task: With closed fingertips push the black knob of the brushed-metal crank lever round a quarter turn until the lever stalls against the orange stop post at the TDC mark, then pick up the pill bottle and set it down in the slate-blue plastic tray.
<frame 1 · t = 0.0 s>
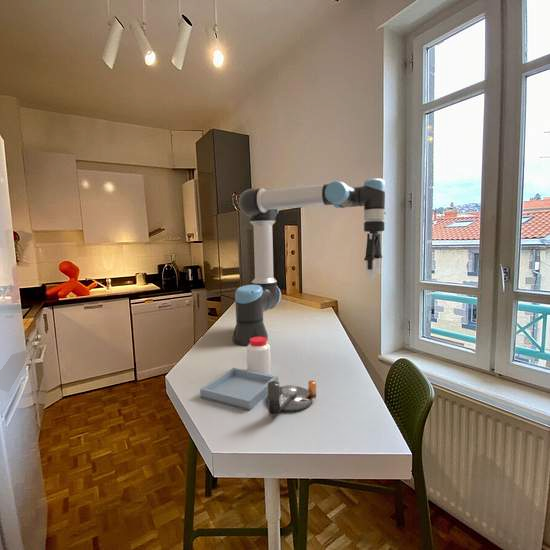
hand: (373, 276, 123), 28 cm above the table, fingers open, 13 cm apart
pill bottle: (259, 372, 104), on the table
crank base: (289, 400, 84), on the table
tray: (240, 390, 90), on the table
crank: (282, 389, 80), point 5 cm above the table, hinge at -90.0°
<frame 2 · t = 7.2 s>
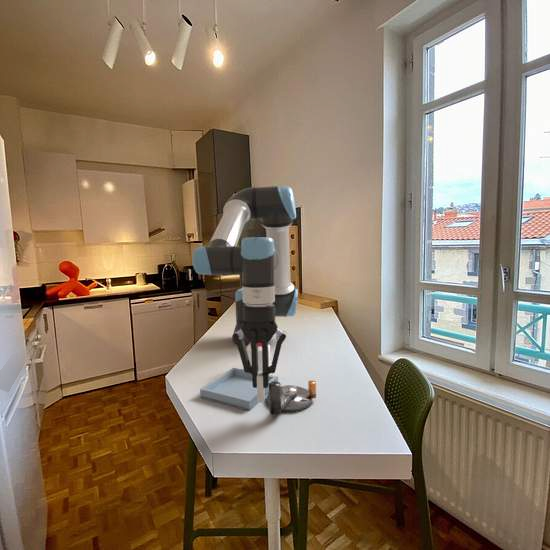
hand: (261, 399, 76), 4 cm above the table, fingers closed
crank: (283, 389, 80), point 5 cm above the table, hinge at -88.1°, touching gripper
everything else where it was.
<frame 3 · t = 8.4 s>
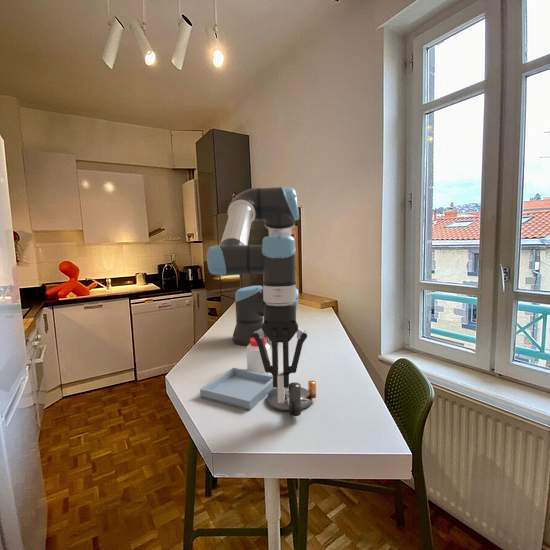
hand: (281, 399, 75), 5 cm above the table, fingers closed
crank: (291, 389, 80), point 5 cm above the table, hinge at -56.9°, touching gripper
everything else where it was.
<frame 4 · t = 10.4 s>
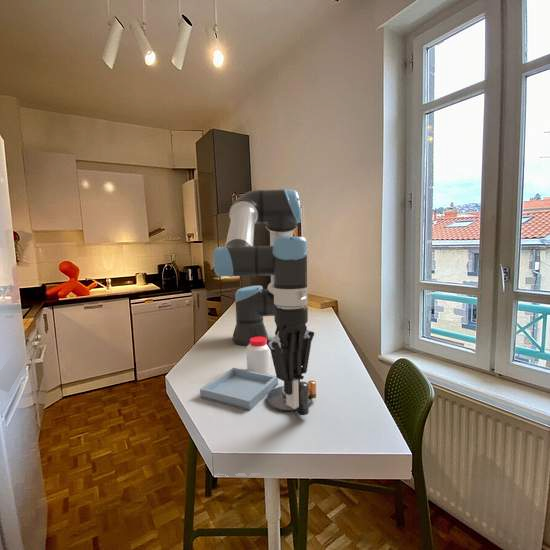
hand: (292, 405, 73), 4 cm above the table, fingers closed
crank: (295, 389, 80), point 5 cm above the table, hinge at -44.8°, touching gripper
everything else where it was.
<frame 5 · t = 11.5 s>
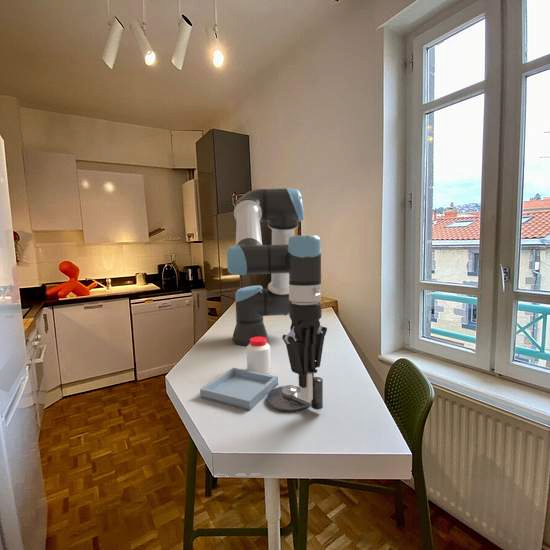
hand: (306, 398, 76), 5 cm above the table, fingers closed
crank: (301, 387, 81), point 5 cm above the table, hinge at -16.4°, touching gripper
everything else where it was.
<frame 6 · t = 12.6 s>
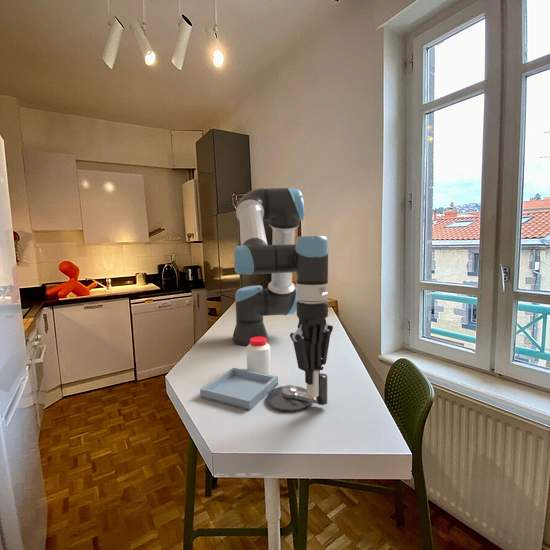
hand: (312, 394, 78), 5 cm above the table, fingers closed
crank: (304, 385, 82), point 5 cm above the table, hinge at 0.0°, touching crank base, gripper
everything else where it was.
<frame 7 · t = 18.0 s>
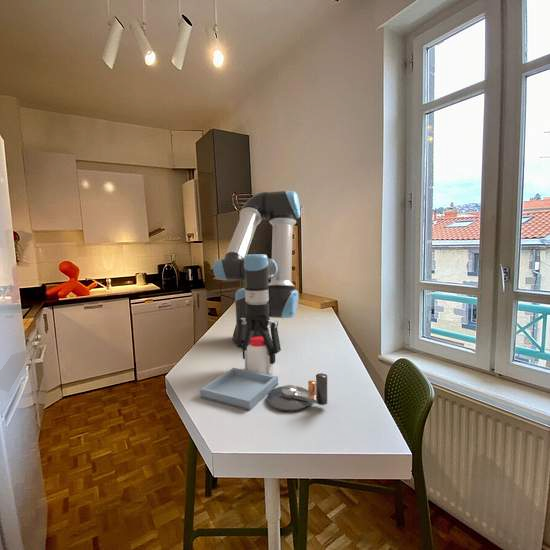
hand: (259, 370, 103), 0 cm above the table, fingers closed on pill bottle, 8 cm apart
pill bottle: (259, 371, 104), on the table, touching gripper
crank: (304, 385, 82), point 5 cm above the table, hinge at 0.0°, touching crank base
when the fingers open (3 cm above the table, at t = 23.5 s): pill bottle drops 2 cm, resting on tray.
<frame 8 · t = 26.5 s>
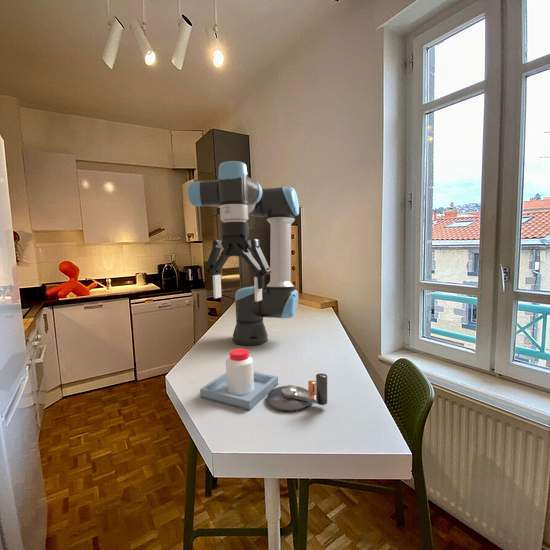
hand: (237, 299, 87), 27 cm above the table, fingers open, 13 cm apart
pill bottle: (240, 389, 90), resting on tray
everything else where it was.
at the end: crank at +0° (first picture: -90°); pill bottle inside the target area on the tray (0.0 cm from its centre), point 0.4 cm above the tray's base; pill bottle tilted 0° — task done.
